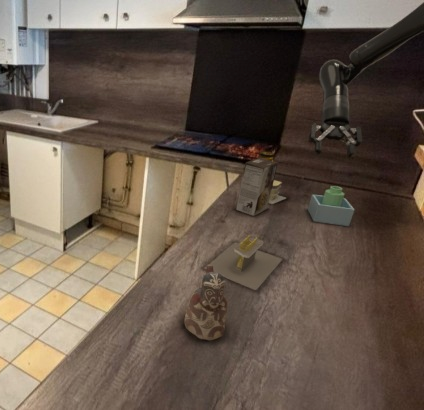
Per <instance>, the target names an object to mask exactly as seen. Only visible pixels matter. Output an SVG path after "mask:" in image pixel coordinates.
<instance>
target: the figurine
mask: <svg viewBox="0 0 424 410" xmlns="http://www.w3.org/2000/svg"><path fill="white" fill-rule="evenodd" d="M206 266H207V270H206V269H205V274H203V276H202V280H201V287H199V288H197V289H196V290H195V291H194V292H193V293H192V295H191V296H190V299H189V302H188V305H187V308H186V311H185V315H184V327H185V328H186V330H188V331H189V332H190V333H191V334H193V335H194V336H195V337H197V338H198V339H199V340H207V341H213V340H217V339H219V338H221V337H223V336H224V334H225V330H226V321H227V313H228V300H227V298H226V296H225V295H224V294H225V285H226V284H227V282H226V280H225V278H224V277H223V276H221V275H220V274H219V273H217V272H214V271H213V266H212V265H209V264H207V265H206Z"/></svg>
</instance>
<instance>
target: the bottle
mask: <svg viewBox="0 0 424 410" xmlns="http://www.w3.org/2000/svg"><path fill="white" fill-rule="evenodd" d="M323 196H324V197H323V201H322V204H321V205H328V206H336V207H341V204H342V200H343V198H345V192H343V187H340V186H337V185H330V186H329V189H325V191H324V194H323Z"/></svg>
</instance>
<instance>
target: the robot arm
mask: <svg viewBox="0 0 424 410" xmlns="http://www.w3.org/2000/svg"><path fill="white" fill-rule="evenodd" d="M423 32H424V1H423V2H422V3H421V4H419V5H418V6H417V7H416V8H415V9H414V10H412V11H411V12H410V13H408V14H407V15H406V16H404V17H403V18H402V19H400V20H399V21H397V22H395V23H394V24H393V25H392V26H390V27H388V28H387V29H385V30H384V31H382V32H380V33H379V34H377V35H376V36H374V37H373V38H371V39H369V40H368V41H366V42H365V43H362V44H361V45H359V46H358V47H357V48H355V49H354V50H353V51H351V52H350V53H349V56H348V60H349V62H350V64H349V65H346V64H345V63H343V62H342V61H340V60H338V59H329V60H327V61H325V62H324V63H323V65H321V67H320V70H319V72H318V81H319V84H320V88H321V91H322V93H323V94H322V95H323V96H322V106H321V122H320V123H321V125H318V124H317V123H316V122H315V123H312V125H311V127H310V128H309V135H308V143H310V144H311V143H313V144H314V152H315V153H316V155H320V154H321V153H322V149H323V141H324V140H325V139H327V140H334V141H341V143H343V144H345V145H346V146H347V148H346V157H347V158H351V157H352V156H353V155H354V154H355V152H356V147H359V146H360V145H361V143H363V134H362V127H361V126H359V125H358V126H356V127H351V126H350V101H349V88H348V85H349V84H350V83H351V82H352V81H353V80H354V79H356V78H357V77H358V76H359V75H360V74H361V73H362V72H363V71H365V70H366V69H367V68H368V67H370V66H372V65H374V64H375V63H377V62H379V61H380V60H382V59H383V58H384V59H385V57H387V56H389V55H390V54H391V53H394V51H395V50H397V49H398V48H399V47H401V46H402V45H403V44H405V43H406V42H408V41H409V40H411V39H413V38H414V37H416V36H418V35H420V34H421V33H423ZM318 131H319V132H320V133H321V135H319V136H318V137H316V134H317V133H318ZM352 136H353V137H352Z"/></svg>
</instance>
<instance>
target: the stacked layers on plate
mask: <svg viewBox="0 0 424 410" xmlns="http://www.w3.org/2000/svg"><path fill="white" fill-rule="evenodd" d="M282 183H283V182H282V181H279V180H276V179H274V182H273V187H272V191H271V195H270V199H269V204H271V205H274V204H276V203H278V202H281V201H283V200H286V199H287V197H285V196H282V195H279V193H280V188H281V187H282V185H281V184H282Z"/></svg>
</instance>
